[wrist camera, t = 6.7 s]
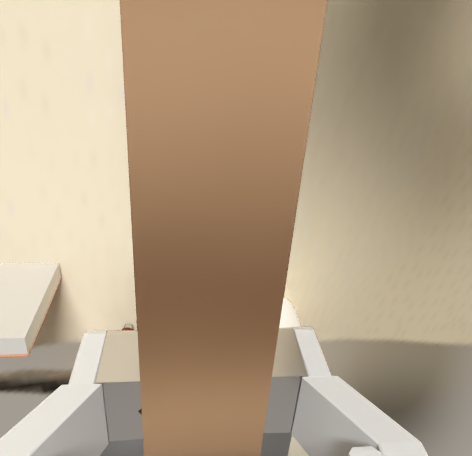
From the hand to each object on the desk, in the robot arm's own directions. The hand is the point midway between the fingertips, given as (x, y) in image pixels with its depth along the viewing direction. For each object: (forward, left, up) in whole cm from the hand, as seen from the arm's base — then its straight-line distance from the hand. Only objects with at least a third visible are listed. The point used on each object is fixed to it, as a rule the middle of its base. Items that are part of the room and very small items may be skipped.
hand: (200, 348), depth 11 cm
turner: (0, +1, -2) cm, 2 cm away
